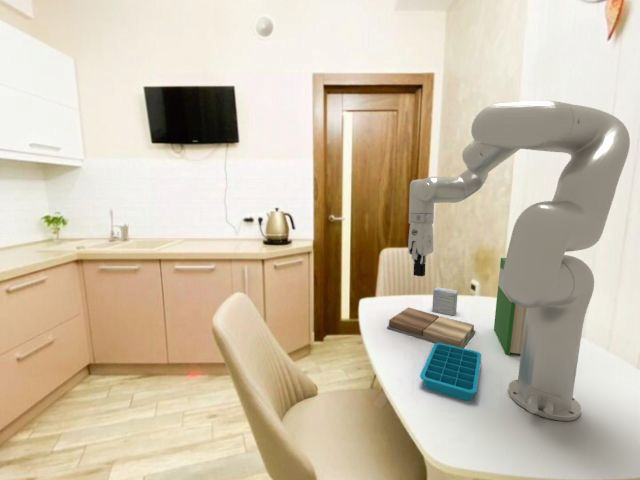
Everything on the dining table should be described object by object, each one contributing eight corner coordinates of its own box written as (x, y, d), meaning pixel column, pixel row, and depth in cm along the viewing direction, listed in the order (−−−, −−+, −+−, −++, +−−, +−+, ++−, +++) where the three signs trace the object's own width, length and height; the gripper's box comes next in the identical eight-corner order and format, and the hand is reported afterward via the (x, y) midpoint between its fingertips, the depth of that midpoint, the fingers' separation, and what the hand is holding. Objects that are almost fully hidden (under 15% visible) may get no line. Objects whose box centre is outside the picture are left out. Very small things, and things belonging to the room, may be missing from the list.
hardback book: (537, 360, 84) (547, 272, 81) (505, 355, 86) (514, 270, 83) (519, 333, 101) (528, 259, 97) (493, 329, 103) (500, 257, 100)
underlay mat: (461, 351, 88) (461, 349, 88) (386, 328, 102) (386, 326, 102) (475, 332, 100) (475, 330, 100) (407, 314, 115) (407, 312, 115)
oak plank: (460, 348, 89) (460, 341, 88) (422, 336, 95) (423, 330, 95) (473, 330, 100) (474, 324, 100) (439, 321, 107) (440, 316, 107)
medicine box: (456, 312, 117) (458, 290, 116) (454, 316, 114) (456, 293, 112) (434, 308, 122) (436, 286, 120) (431, 311, 118) (433, 289, 117)
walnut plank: (421, 336, 96) (422, 330, 95) (388, 325, 102) (389, 319, 102) (438, 321, 107) (439, 315, 107) (407, 312, 114) (408, 307, 114)
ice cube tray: (418, 389, 71) (418, 377, 71) (434, 351, 88) (435, 341, 88) (475, 407, 65) (476, 394, 65) (480, 363, 83) (481, 352, 82)
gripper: (423, 220, 92) (421, 281, 94) (440, 218, 104) (438, 273, 106) (399, 219, 97) (398, 278, 99) (418, 218, 108) (416, 270, 110)
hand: (419, 275), depth 102 cm, fingers closed
